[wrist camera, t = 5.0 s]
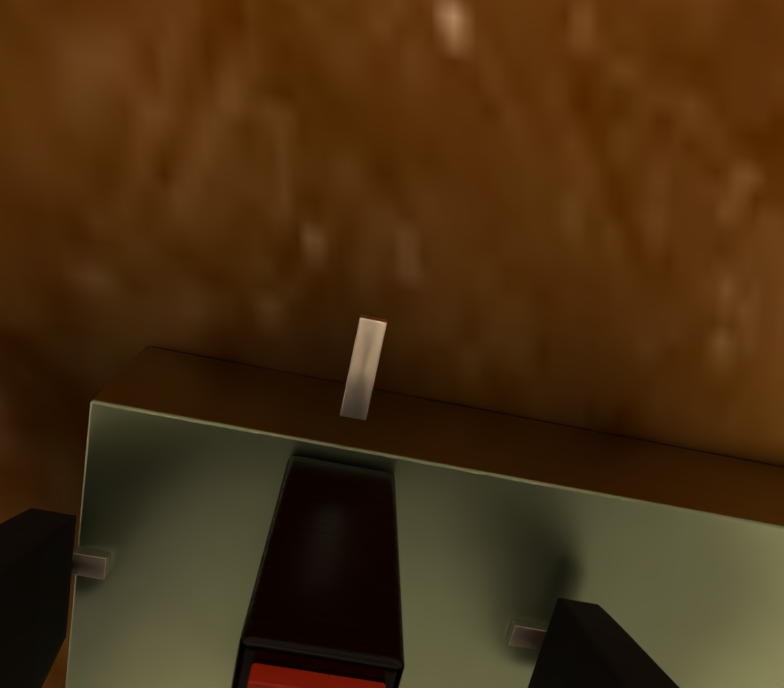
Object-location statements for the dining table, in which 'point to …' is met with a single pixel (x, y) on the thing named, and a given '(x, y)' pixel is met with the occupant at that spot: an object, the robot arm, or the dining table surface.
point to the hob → (412, 529)
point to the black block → (326, 584)
